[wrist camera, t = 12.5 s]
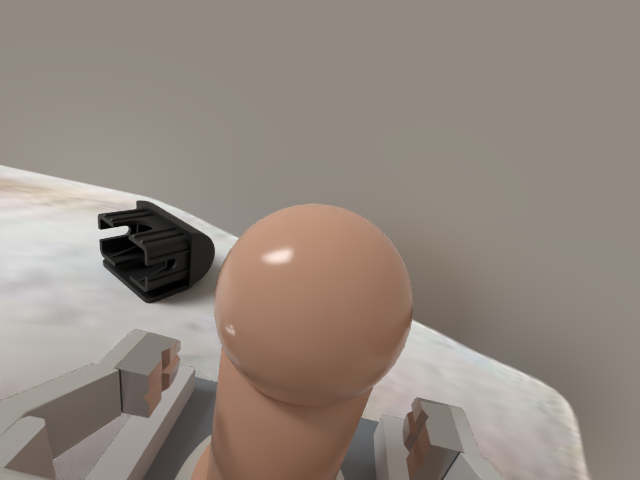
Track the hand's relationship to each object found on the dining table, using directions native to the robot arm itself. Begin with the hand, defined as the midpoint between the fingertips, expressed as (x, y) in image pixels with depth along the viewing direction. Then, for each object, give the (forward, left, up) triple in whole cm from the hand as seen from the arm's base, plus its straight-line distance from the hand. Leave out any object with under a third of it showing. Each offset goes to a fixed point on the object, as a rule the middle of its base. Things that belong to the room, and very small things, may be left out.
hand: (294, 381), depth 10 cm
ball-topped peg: (0, +1, -9) cm, 10 cm away
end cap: (-6, +26, -12) cm, 29 cm away
